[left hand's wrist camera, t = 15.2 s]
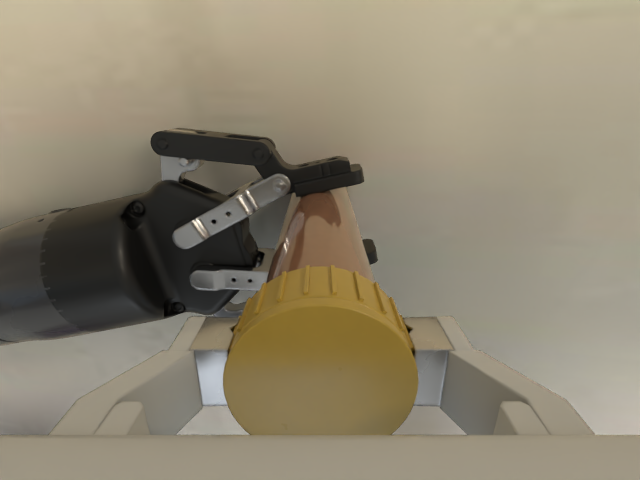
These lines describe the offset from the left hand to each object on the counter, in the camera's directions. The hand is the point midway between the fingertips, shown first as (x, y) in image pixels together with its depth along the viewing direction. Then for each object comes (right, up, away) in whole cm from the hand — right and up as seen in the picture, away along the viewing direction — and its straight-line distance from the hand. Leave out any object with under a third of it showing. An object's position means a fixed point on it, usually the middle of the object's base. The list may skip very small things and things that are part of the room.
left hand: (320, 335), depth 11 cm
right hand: (+3, +4, +10) cm, 11 cm away
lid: (0, -1, -2) cm, 2 cm away
